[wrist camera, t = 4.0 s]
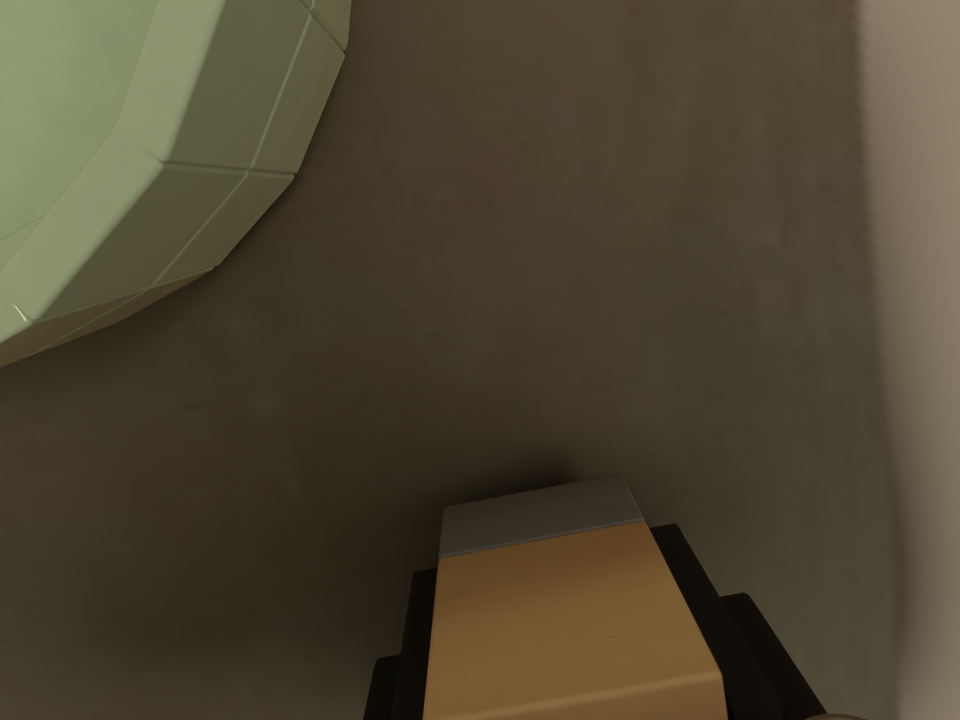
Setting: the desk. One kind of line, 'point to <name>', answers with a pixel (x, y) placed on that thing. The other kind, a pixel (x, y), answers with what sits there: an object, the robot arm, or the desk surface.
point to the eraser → (563, 614)
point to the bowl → (144, 146)
